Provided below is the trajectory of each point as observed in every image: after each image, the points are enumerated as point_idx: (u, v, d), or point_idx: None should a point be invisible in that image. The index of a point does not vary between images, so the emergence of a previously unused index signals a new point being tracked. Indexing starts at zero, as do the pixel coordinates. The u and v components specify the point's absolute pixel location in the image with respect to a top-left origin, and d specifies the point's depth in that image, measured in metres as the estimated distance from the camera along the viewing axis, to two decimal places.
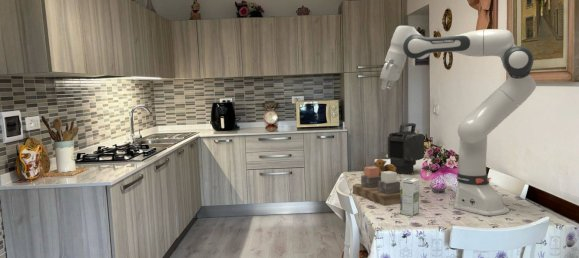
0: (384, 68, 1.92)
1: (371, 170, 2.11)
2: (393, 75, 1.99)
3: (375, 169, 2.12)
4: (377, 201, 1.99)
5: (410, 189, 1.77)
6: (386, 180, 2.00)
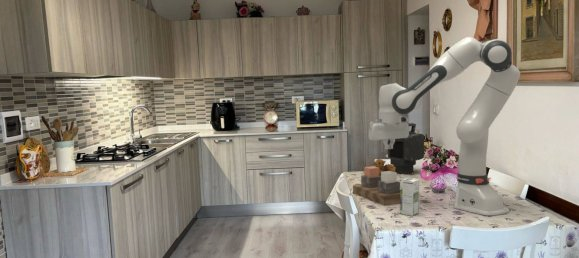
0: (369, 129, 1.97)
1: (371, 170, 2.11)
2: (388, 133, 1.98)
3: (375, 169, 2.12)
4: (377, 201, 1.99)
5: (410, 189, 1.77)
6: (386, 180, 2.00)
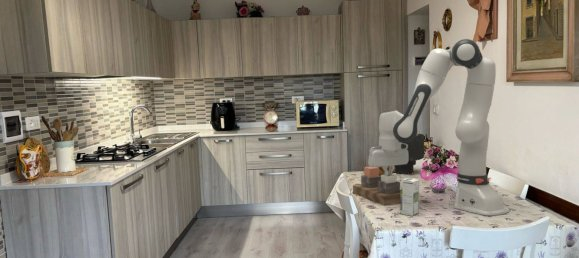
0: (369, 156, 1.98)
1: (371, 170, 2.11)
2: (388, 160, 1.99)
3: (375, 169, 2.12)
4: (377, 201, 1.99)
5: (410, 189, 1.77)
6: None
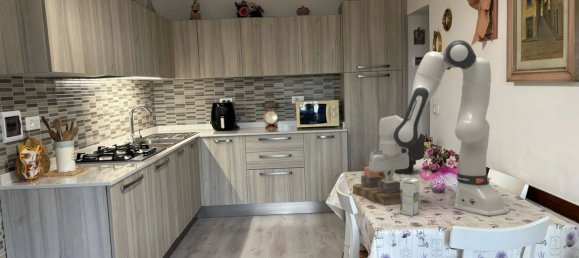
0: (370, 161, 1.98)
1: None
2: (388, 165, 1.99)
3: None
4: (377, 201, 1.99)
5: (411, 189, 1.77)
6: None
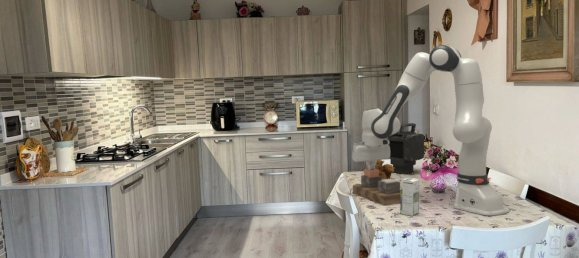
0: (353, 151, 2.11)
1: (371, 172, 2.12)
2: (370, 155, 2.12)
3: (375, 171, 2.12)
4: (377, 201, 1.99)
5: (410, 189, 1.77)
6: None
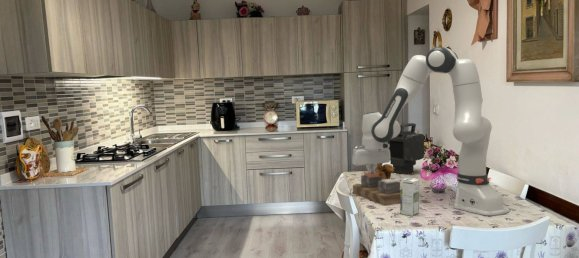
0: (353, 155, 2.11)
1: (371, 176, 2.12)
2: (370, 159, 2.12)
3: (375, 175, 2.13)
4: (377, 201, 1.99)
5: (410, 189, 1.77)
6: None
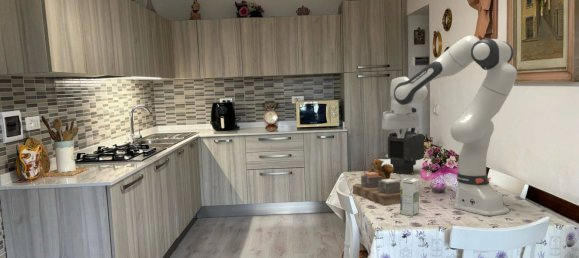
0: (383, 120, 2.12)
1: (371, 176, 2.12)
2: (400, 123, 2.13)
3: (375, 175, 2.13)
4: (377, 201, 1.99)
5: (410, 189, 1.77)
6: None
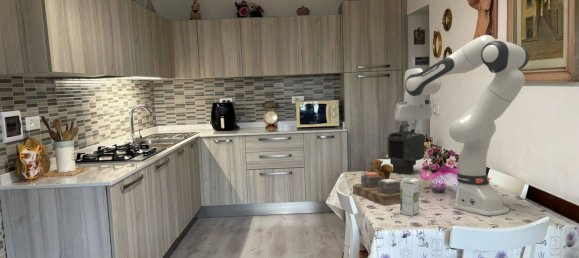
0: (395, 111, 2.14)
1: (371, 176, 2.12)
2: (413, 115, 2.15)
3: (375, 175, 2.13)
4: (377, 201, 1.99)
5: (410, 189, 1.77)
6: None
